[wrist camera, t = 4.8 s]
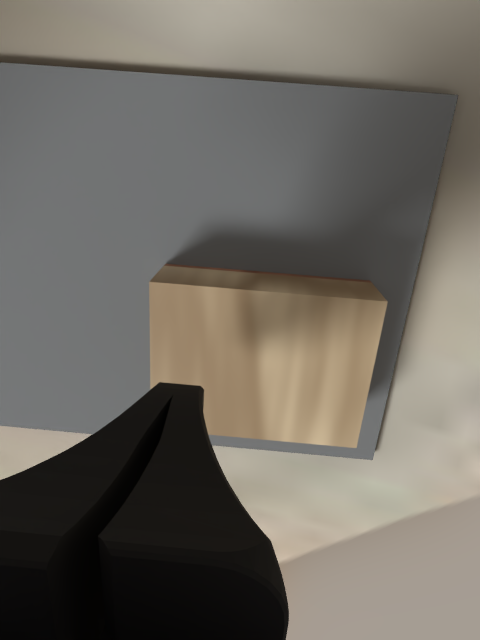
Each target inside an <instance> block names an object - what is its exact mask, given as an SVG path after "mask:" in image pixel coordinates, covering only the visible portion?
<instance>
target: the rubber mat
mask: <svg viewBox="0 0 480 640" xmlns="http://www.w3.org/2000/svg"><path fill="white" fill-rule="evenodd" d="M457 99H458V95H452V94H438V93H424V92H410V91H396V90H382V89H368V88H354V87H340V86H326V85H312V84H298V83H284V82H270V81H256V80H241V79H227V78H213V77H199V76H185V75H171V74H157V73H143V72H129V71H115V70H101V69H87V68H73V67H59V66H45V65H31V64H17V63H3V62H0V426H10V427H21V428H32V429H43V430H53V431H64V432H75V433H86V434H94V433H96V432H97V431H99V430H100V429H101V428H103V427H104V426H106V425H107V424H108V423H110V422H111V421H113V420H114V419H115V418H117V417H118V416H119V415H120V414H122V413H123V412H124V411H125V410H127V409H128V408H129V407H130V406H132V405H133V404H134V403H135V402H137V401H138V400H139V399H140V398H141V397H142V396H144V395H145V394H146V393H147V392H148V391H149V390H150V306H149V281H150V280H151V279H152V278H153V277H154V276H155V275H156V274H157V273H158V271H159V270H160V269H161V268H162V267H163V266H164V265H165V264H175V265H187V266H199V267H212V268H224V269H236V270H248V271H260V272H272V273H285V274H297V275H309V276H321V277H333V278H345V279H358V280H370V281H371V282H372V283H373V285H374V286H375V287H376V288H377V289H378V291H379V292H380V293H381V294H382V295H383V297H384V298H385V299H386V300H387V301H388V303H387V307H386V312H385V317H384V322H383V326H382V331H381V336H380V340H379V345H378V350H377V354H376V359H375V364H374V368H373V373H372V378H371V382H370V387H369V392H368V396H367V401H366V406H365V410H364V415H363V420H362V424H361V429H360V434H359V438H358V443H357V448H349V447H339V446H328V445H317V444H306V443H295V442H284V441H273V440H262V439H251V438H241V437H230V436H219V435H209V438H210V442H211V445H216V446H226V447H237V448H248V449H259V450H270V451H281V452H291V453H302V454H313V455H324V456H335V457H345V458H356V459H367V460H373V456H374V452H375V448H376V443H377V439H378V435H379V431H380V426H381V422H382V418H383V414H384V409H385V405H386V401H387V397H388V392H389V388H390V384H391V380H392V375H393V371H394V367H395V363H396V358H397V354H398V350H399V346H400V341H401V337H402V333H403V329H404V324H405V320H406V316H407V312H408V307H409V303H410V299H411V295H412V290H413V286H414V282H415V277H416V273H417V269H418V265H419V260H420V256H421V252H422V248H423V243H424V239H425V235H426V231H427V226H428V222H429V218H430V214H431V209H432V205H433V201H434V197H435V192H436V188H437V184H438V180H439V175H440V171H441V167H442V163H443V158H444V154H445V150H446V146H447V141H448V137H449V133H450V128H451V124H452V120H453V116H454V111H455V107H456V103H457Z"/></svg>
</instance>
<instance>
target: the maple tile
mask: <svg viewBox="0 0 480 640" xmlns="http://www.w3.org/2000/svg"><path fill="white" fill-rule="evenodd" d="M387 303H388V301H387V300H386V299H385V298H384V297H383V295H382V294H381V293H380V292H379V291H378V289H377V288H376V287H375V286H374V285H373V283H372V282H371V281H370V280H358V279H345V278H333V277H321V276H309V275H297V274H285V273H272V272H260V271H248V270H236V269H224V268H212V267H199V266H187V265H175V264H165V265H164V266H163V267H162V268H161V269H160V270H159V271H158V273H157V274H156V275H155V276H154V277H153V278H152V279H151V280H150V281H149V306H150V390H151V389H152V388H153V387H154V386H155V385H157V384H158V383H159V382H164V383H175V384H186V385H197V386H201V387H202V388H203V389H204V408H203V413H204V419H205V423H206V428H207V432H208V435H219V436H230V437H241V438H251V439H262V440H273V441H284V442H295V443H306V444H317V445H328V446H339V447H349V448H357V443H358V438H359V434H360V429H361V424H362V420H363V415H364V410H365V406H366V401H367V396H368V392H369V387H370V382H371V378H372V373H373V368H374V364H375V359H376V354H377V350H378V345H379V340H380V336H381V331H382V326H383V322H384V317H385V312H386V307H387Z"/></svg>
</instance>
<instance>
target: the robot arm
mask: <svg viewBox="0 0 480 640" xmlns="http://www.w3.org/2000/svg"><path fill="white" fill-rule="evenodd" d="M203 408H204V389H203V388H202V387H201V386H197V385H186V384H175V383H164V382H159V383H158V384H157V385H155V386H154V387H153V388H152V389H151V390H149V391H148V392H147V393H146V394H145V395H144V396H142V397H141V398H140V399H139V400H138V401H137V402H135V403H134V404H133V405H132V406H130V407H129V408H128V409H127V410H125V411H124V412H123V413H122V414H120V415H119V416H118V417H117V418H115V419H114V420H113V421H111V422H110V423H108V424H107V425H106V426H104V427H103V428H101V429H100V430H99V431H97V432H96V433H94V434H93V435H91V436H90V437H88V438H86V439H85V440H83V441H81V442H80V443H78V444H76V445H74V446H73V447H71V448H69V449H68V450H66V451H64V452H62V453H60V454H58V455H56V456H54V457H52V458H50V459H48V460H46V461H44V462H42V463H39V464H37V465H35V466H33V467H31V468H29V469H27V470H25V471H22V472H20V473H17V474H15V475H13V476H10V477H8V478H5V479H2V480H0V640H286V634H287V628H288V620H289V610H288V602H287V596H286V591H285V586H284V582H283V578H282V574H281V571H280V567H279V564H278V561H277V558H276V555H275V552H274V549H273V546H272V543H271V541H270V539H269V538H268V537H267V536H266V535H265V534H264V533H263V531H262V530H261V529H260V528H259V527H258V525H257V524H256V523H255V522H254V521H253V519H252V518H251V517H250V515H249V514H248V512H247V511H246V510H245V508H244V507H243V506H242V504H241V503H240V501H239V499H238V498H237V496H236V494H235V493H234V491H233V489H232V488H231V486H230V485H229V483H228V481H227V479H226V477H225V475H224V473H223V471H222V469H221V467H220V465H219V463H218V460H217V458H216V456H215V453H214V450H213V448H212V445H211V442H210V438H209V435H208V432H207V428H206V423H205V419H204V413H203Z"/></svg>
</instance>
